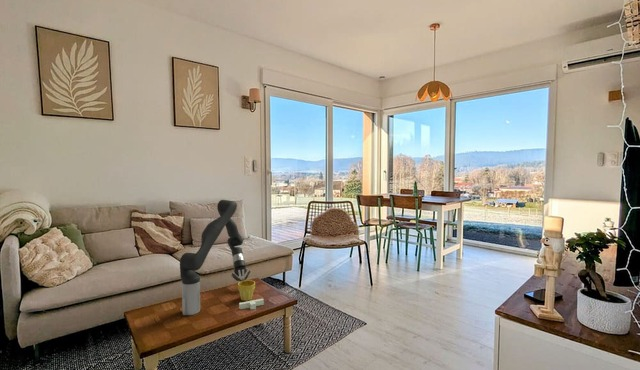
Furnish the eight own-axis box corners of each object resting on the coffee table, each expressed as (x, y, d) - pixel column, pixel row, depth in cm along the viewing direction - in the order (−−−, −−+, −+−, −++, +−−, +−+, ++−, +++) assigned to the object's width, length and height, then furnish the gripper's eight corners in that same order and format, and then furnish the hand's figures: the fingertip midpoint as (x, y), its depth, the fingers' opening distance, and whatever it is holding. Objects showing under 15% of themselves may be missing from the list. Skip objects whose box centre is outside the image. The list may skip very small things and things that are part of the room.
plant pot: (252, 302, 186) (252, 286, 185) (235, 301, 186) (235, 286, 185) (256, 295, 196) (256, 280, 195) (240, 294, 196) (240, 279, 196)
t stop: (241, 311, 174) (241, 306, 173) (239, 308, 178) (239, 302, 178) (265, 306, 180) (265, 301, 180) (262, 303, 184) (262, 298, 184)
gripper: (229, 260, 204) (233, 285, 194) (249, 258, 210) (254, 281, 200) (228, 266, 209) (231, 290, 199) (247, 263, 215) (252, 286, 205)
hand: (243, 286), depth 199 cm, fingers closed
